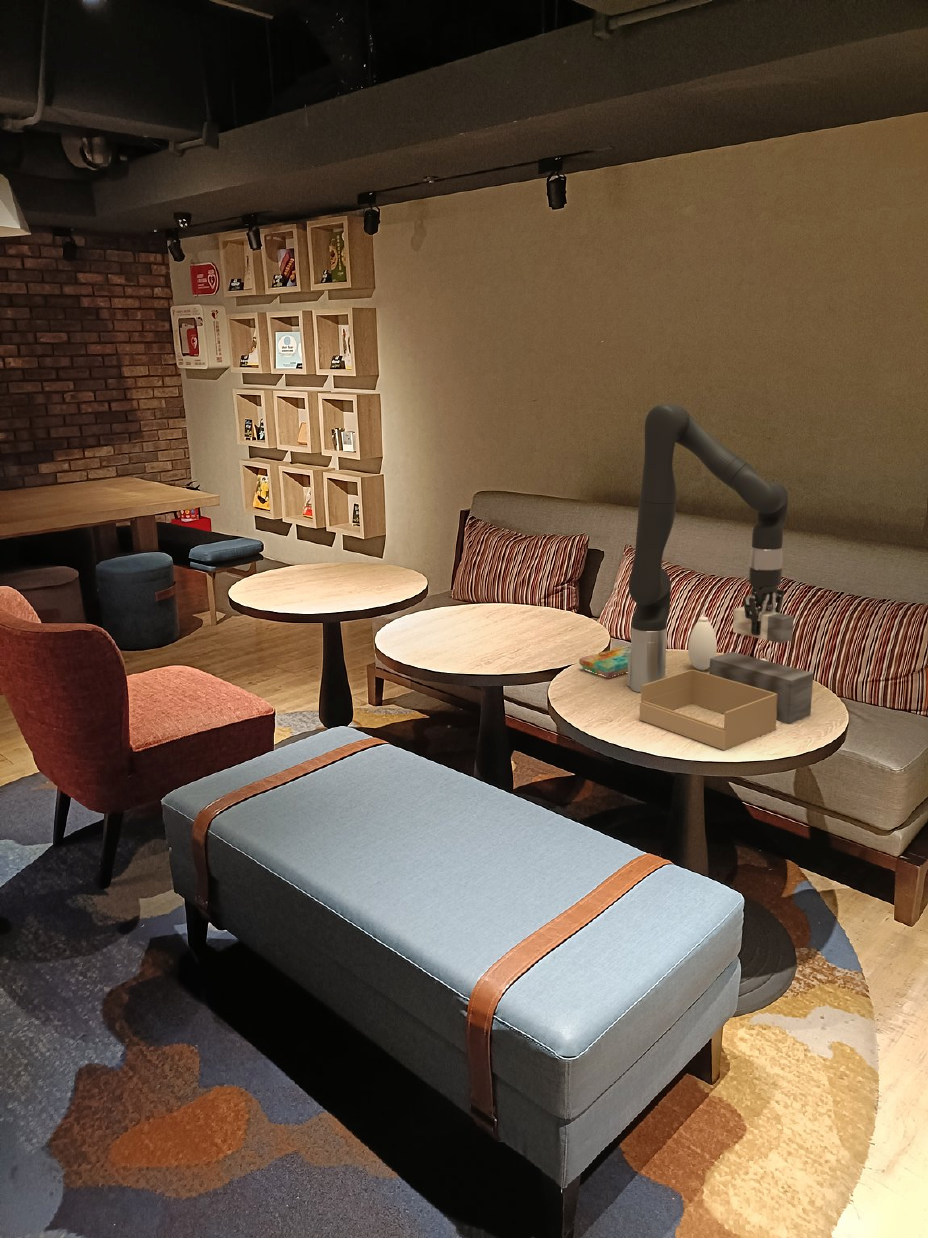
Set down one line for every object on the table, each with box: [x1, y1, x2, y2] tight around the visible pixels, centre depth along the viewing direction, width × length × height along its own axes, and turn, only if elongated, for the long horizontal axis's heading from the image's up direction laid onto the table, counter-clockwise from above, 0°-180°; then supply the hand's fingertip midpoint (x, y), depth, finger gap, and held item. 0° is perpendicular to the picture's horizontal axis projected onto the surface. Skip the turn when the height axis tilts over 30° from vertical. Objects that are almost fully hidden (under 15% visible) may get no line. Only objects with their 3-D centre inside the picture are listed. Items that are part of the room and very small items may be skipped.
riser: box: [708, 651, 814, 725], centre depth 233 cm, size 24×9×11 cm, turn 37°
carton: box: [639, 669, 778, 751], centre depth 222 cm, size 25×20×9 cm
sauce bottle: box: [687, 608, 718, 671], centre depth 263 cm, size 8×8×18 cm
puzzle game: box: [578, 645, 631, 679], centre depth 267 cm, size 12×5×20 cm
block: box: [732, 606, 795, 644], centre depth 229 cm, size 14×4×6 cm, turn 37°
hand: (761, 632), depth 229 cm, fingers closed on block, 4 cm apart
